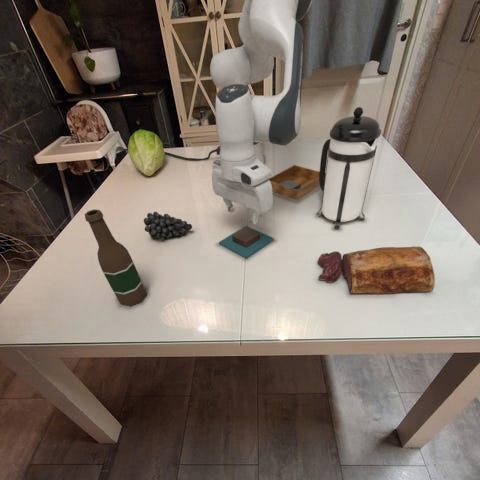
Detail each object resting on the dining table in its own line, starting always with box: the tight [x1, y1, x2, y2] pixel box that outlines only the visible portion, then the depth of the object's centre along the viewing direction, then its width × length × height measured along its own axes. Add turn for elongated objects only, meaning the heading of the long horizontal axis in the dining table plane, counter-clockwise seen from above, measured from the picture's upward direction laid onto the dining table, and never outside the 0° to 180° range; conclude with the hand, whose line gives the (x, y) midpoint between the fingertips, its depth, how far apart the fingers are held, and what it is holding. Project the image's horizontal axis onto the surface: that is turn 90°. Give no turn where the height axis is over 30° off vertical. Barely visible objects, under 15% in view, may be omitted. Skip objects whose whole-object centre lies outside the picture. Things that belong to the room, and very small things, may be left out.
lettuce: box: [127, 128, 166, 177], centre depth 136 cm, size 15×24×16 cm
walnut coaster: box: [231, 226, 260, 248], centre depth 90 cm, size 6×6×2 cm
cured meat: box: [317, 246, 436, 295], centre depth 75 cm, size 18×25×7 cm
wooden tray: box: [268, 164, 321, 201], centre depth 112 cm, size 15×17×4 cm
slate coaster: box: [281, 180, 301, 190], centre depth 111 cm, size 6×6×2 cm
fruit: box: [143, 211, 193, 242], centre depth 95 cm, size 9×8×15 cm
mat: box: [218, 225, 275, 259], centre depth 91 cm, size 12×12×1 cm
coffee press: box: [316, 106, 382, 230], centre depth 86 cm, size 17×16×30 cm
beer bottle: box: [84, 208, 148, 307], centre depth 70 cm, size 8×8×24 cm
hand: (242, 216), depth 86 cm, fingers open, 8 cm apart
